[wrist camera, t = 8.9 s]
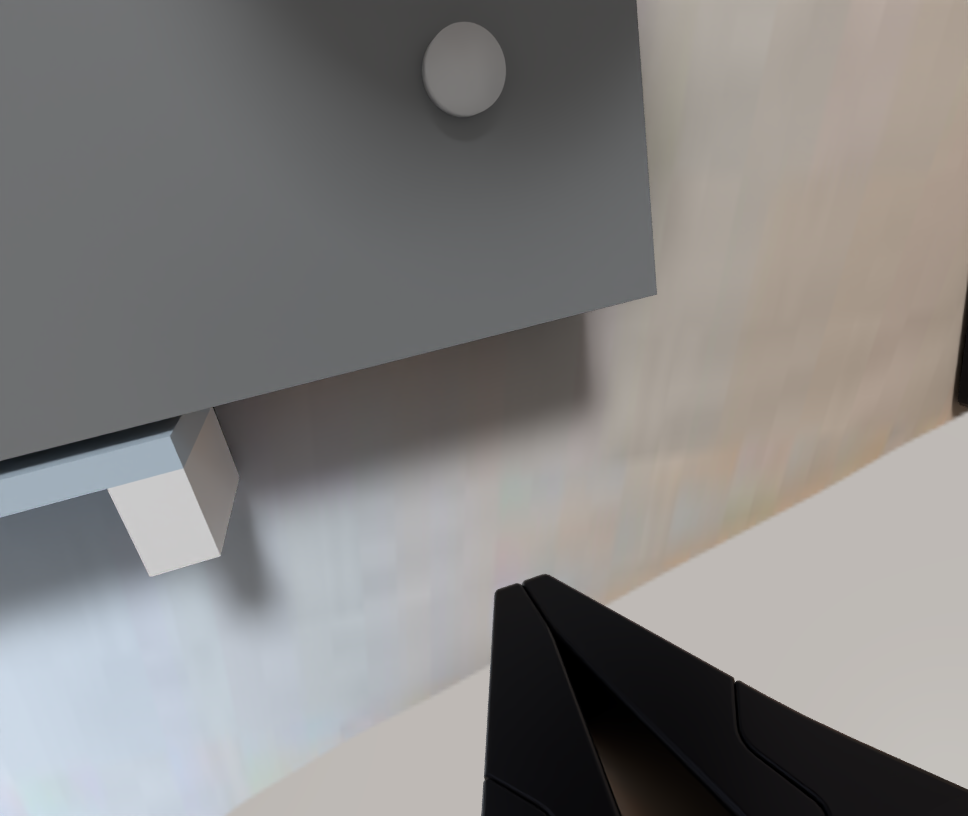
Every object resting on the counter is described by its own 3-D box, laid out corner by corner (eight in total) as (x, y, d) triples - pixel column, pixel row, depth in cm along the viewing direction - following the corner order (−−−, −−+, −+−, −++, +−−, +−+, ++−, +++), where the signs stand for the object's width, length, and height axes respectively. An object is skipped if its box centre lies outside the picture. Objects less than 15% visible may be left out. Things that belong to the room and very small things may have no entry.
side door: (239, 477, 18) (220, 556, 14) (-136, 581, 16) (-273, 702, 13) (202, 379, 17) (170, 436, 13) (-208, 479, 15) (-385, 579, 11)
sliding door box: (582, 274, 19) (667, 300, 15) (-94, 437, 16) (-258, 538, 11) (548, -27, 16) (641, -112, 12) (-304, 95, 13) (-646, 43, 8)
